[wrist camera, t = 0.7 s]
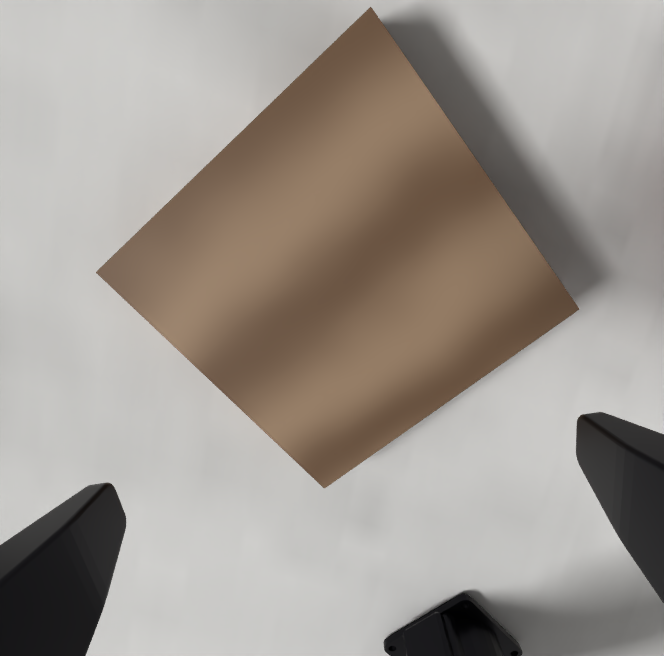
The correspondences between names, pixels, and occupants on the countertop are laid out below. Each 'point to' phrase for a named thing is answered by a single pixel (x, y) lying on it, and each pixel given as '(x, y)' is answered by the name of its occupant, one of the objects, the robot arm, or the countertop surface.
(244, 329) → the walnut block
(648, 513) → the robot arm
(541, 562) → the countertop surface
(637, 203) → the countertop surface
